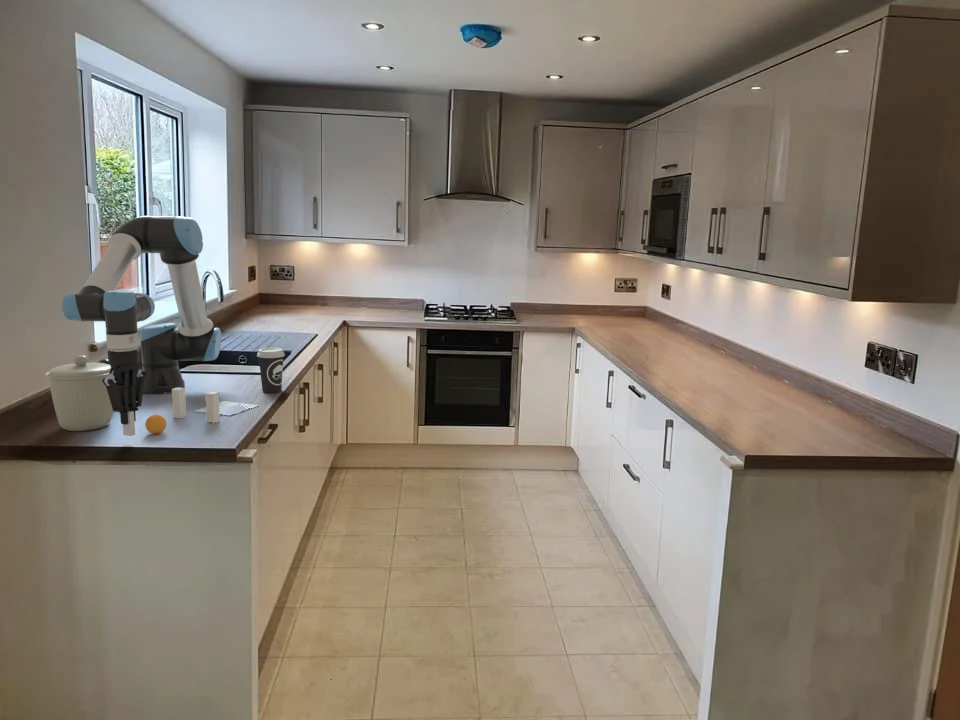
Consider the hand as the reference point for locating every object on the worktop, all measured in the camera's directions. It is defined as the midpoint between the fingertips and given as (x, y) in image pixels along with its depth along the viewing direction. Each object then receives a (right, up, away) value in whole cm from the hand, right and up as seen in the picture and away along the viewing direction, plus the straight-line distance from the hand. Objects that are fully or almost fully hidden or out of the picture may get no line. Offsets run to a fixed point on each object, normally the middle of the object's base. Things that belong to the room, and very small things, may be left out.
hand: (129, 434), depth 194 cm
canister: (-19, +1, +14) cm, 24 cm away
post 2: (+15, +2, +22) cm, 26 cm away
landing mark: (+13, +4, +37) cm, 40 cm away
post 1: (+3, +3, +26) cm, 26 cm away
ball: (+3, +2, +9) cm, 10 cm away
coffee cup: (+21, +9, +62) cm, 66 cm away
